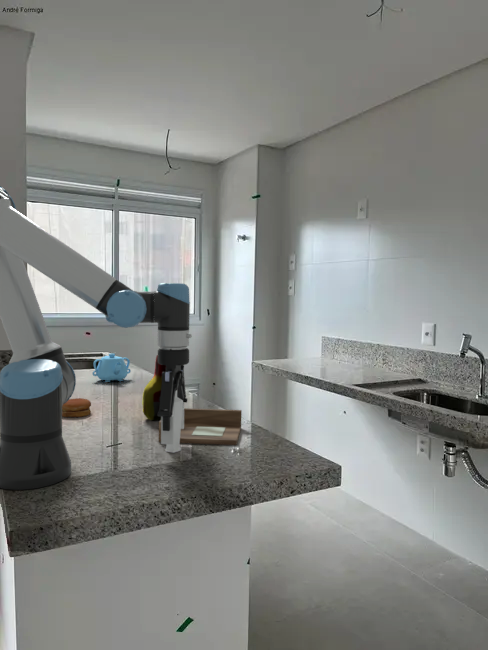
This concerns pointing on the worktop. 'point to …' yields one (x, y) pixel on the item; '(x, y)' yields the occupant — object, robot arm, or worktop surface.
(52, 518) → the worktop surface
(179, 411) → the white faceted vase
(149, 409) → the bottle
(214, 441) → the brown wooden flat tray
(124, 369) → the teapot
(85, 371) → the worktop surface
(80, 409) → the burger
